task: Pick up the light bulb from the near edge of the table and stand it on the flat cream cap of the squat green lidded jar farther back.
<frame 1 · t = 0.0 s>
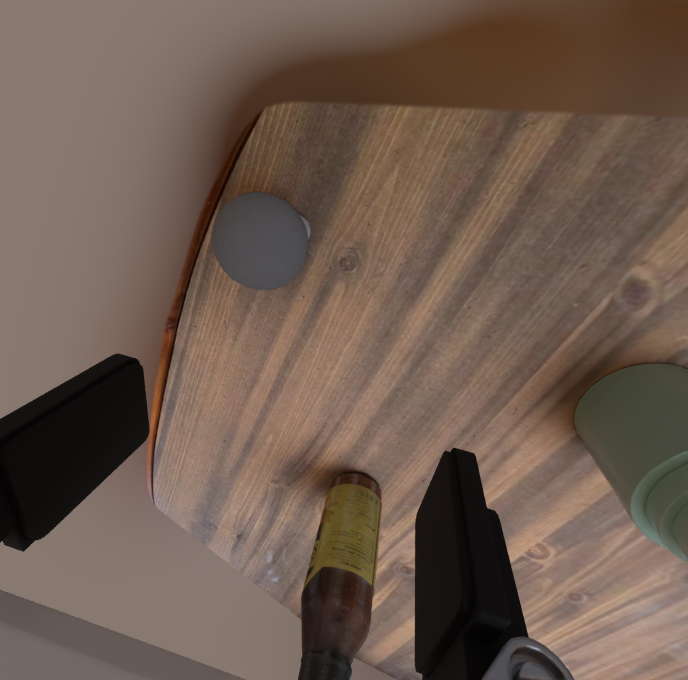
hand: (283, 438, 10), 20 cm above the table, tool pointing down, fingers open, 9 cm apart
green lidded jar: (640, 414, 29), on the table
sauce bottle: (357, 489, 39), on the table
light bulb: (297, 228, 28), on the table
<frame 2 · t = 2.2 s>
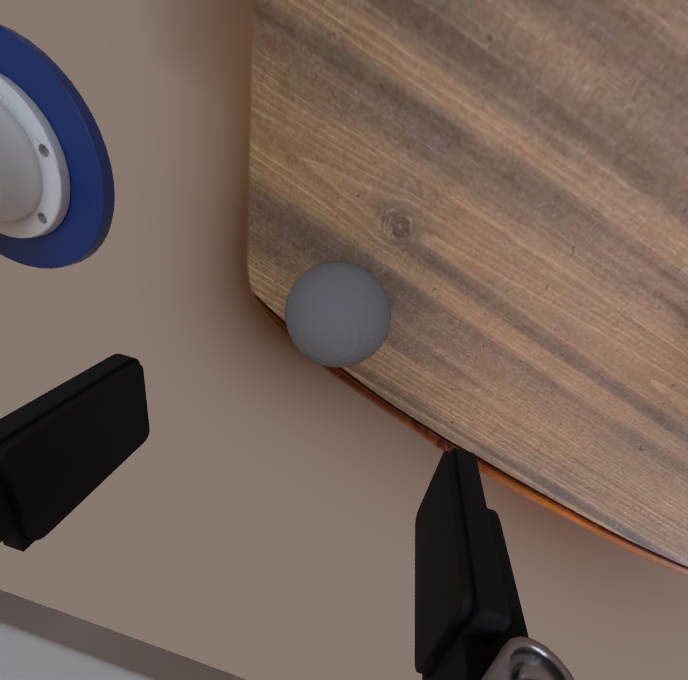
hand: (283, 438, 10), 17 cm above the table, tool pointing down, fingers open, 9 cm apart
light bulb: (356, 281, 26), on the table
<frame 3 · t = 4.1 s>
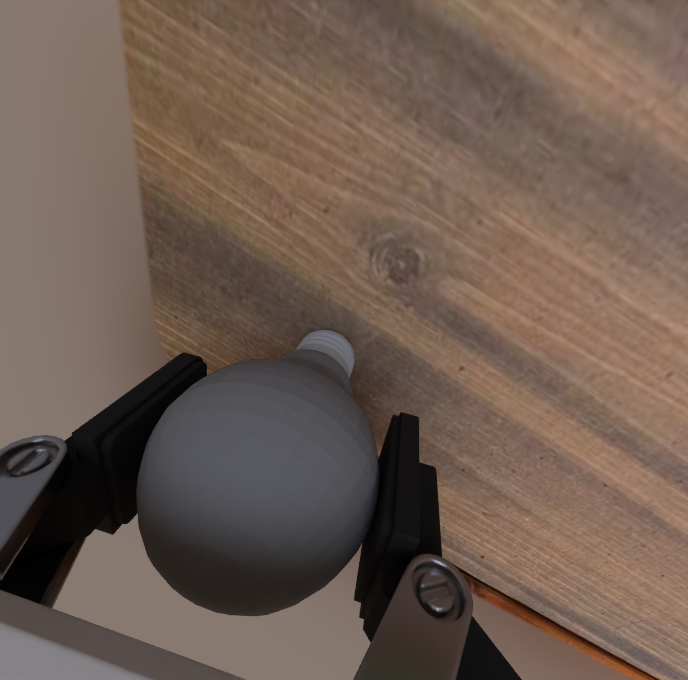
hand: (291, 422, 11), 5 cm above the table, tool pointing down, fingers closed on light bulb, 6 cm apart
light bulb: (329, 350, 15), on the table, touching gripper
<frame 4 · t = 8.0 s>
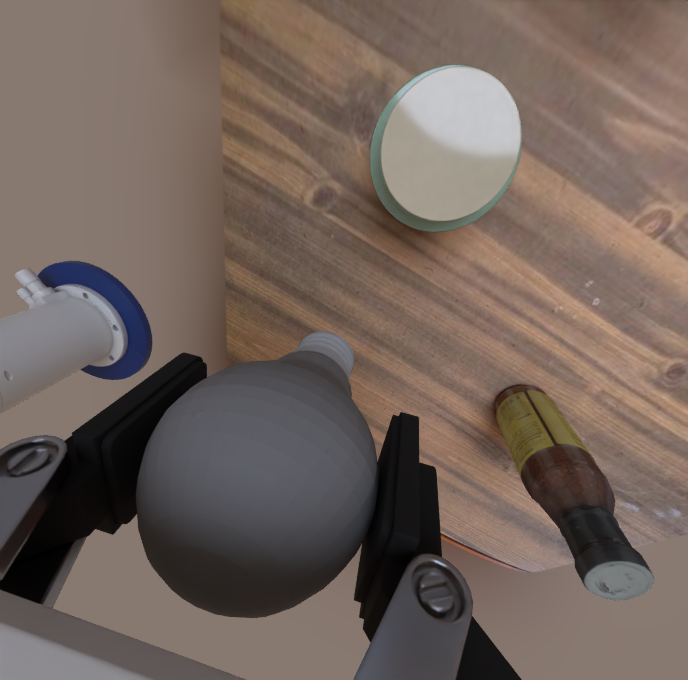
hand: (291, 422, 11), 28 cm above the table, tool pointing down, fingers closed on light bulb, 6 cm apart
green lidded jar: (435, 162, 31), on the table
sauce bottle: (522, 403, 40), on the table
light bulb: (328, 351, 15), point 23 cm above the table, touching gripper
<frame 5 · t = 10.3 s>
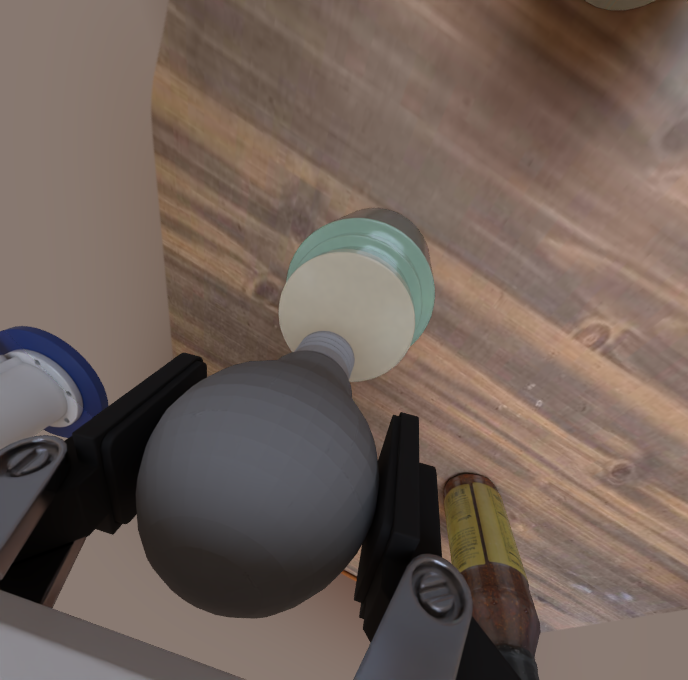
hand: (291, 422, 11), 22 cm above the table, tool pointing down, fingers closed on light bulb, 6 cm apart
green lidded jar: (373, 267, 30), on the table
sauce bottle: (471, 488, 39), on the table
light bulb: (329, 351, 15), point 17 cm above the table, touching gripper
when the fingers open (18 cm above the table, at t = 11.8 s): light bulb stays where it is, resting on green lidded jar.
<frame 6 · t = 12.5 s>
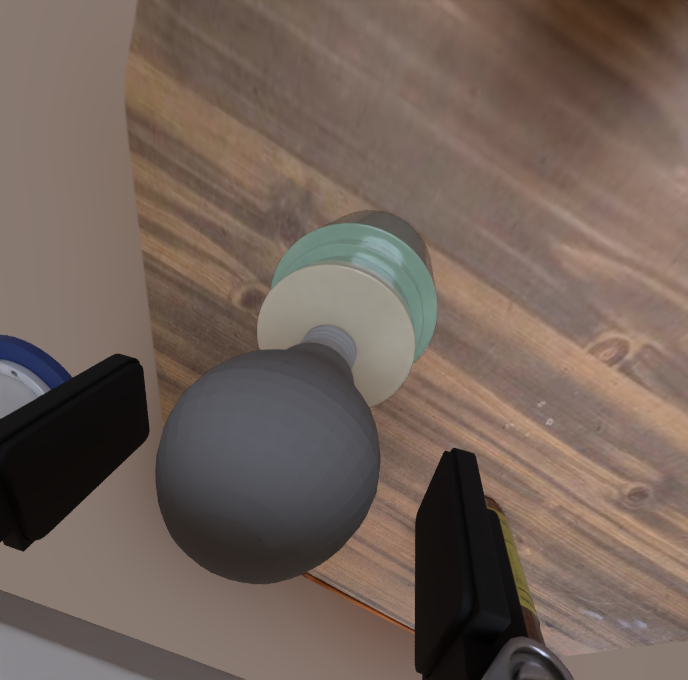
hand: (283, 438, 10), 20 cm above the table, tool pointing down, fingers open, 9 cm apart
green lidded jar: (369, 274, 28), on the table, touching light bulb
sauce bottle: (475, 510, 37), on the table
light bulb: (331, 345, 16), point 13 cm above the table, touching green lidded jar
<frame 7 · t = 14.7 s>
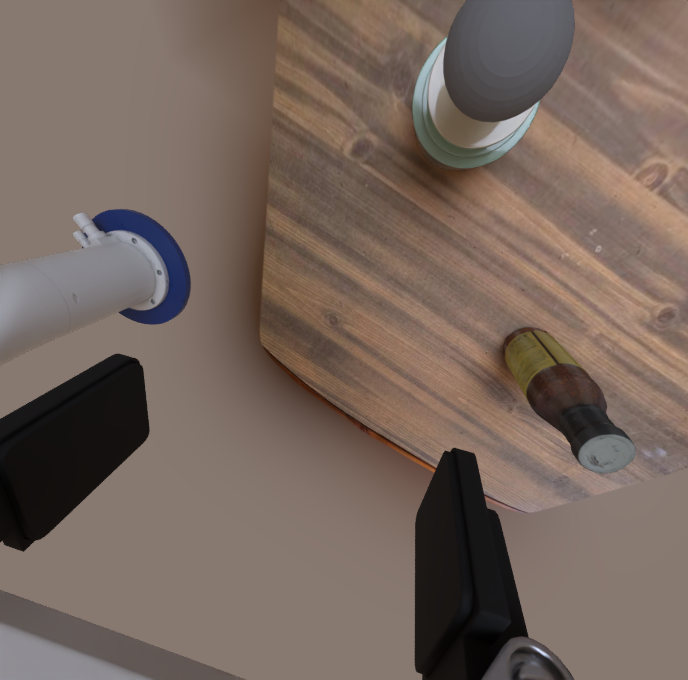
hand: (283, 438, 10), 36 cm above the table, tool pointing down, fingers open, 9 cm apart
green lidded jar: (462, 117, 35), on the table, touching light bulb
sauce bottle: (528, 345, 44), on the table
light bulb: (481, 87, 24), point 13 cm above the table, touching green lidded jar
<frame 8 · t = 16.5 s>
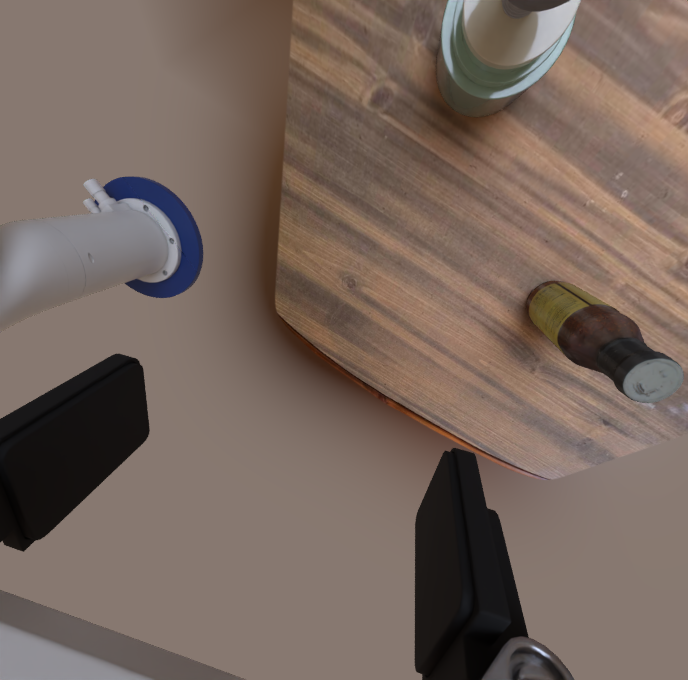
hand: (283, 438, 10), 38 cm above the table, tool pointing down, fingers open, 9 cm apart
green lidded jar: (485, 59, 35), on the table, touching light bulb
sauce bottle: (551, 301, 43), on the table
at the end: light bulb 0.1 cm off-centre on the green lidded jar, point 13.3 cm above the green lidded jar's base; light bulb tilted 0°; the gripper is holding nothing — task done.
